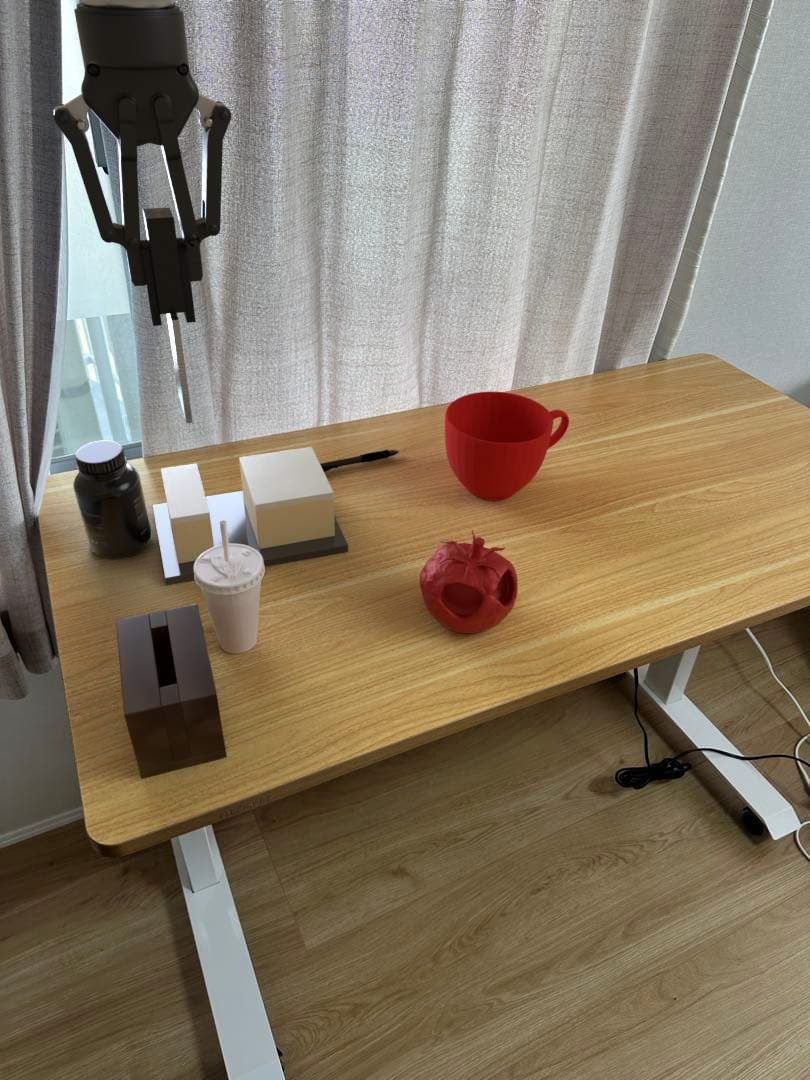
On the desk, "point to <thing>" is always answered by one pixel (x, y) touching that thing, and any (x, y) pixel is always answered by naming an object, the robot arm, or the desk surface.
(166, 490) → the cream rectangular block
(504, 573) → the pomegranate
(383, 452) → the pen
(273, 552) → the cake board
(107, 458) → the supplement bottle
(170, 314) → the knife
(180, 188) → the robot arm
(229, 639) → the smoothie
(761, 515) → the desk surface
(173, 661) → the knife block
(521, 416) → the ceramic cup
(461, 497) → the desk surface
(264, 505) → the cake
